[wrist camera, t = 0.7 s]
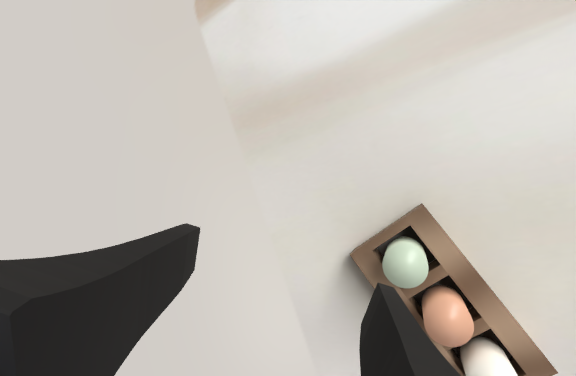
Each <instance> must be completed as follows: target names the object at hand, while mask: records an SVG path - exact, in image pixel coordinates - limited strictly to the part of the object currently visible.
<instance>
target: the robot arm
mask: <svg viewBox="0 0 576 376" xmlns="http://www.w3.org/2000/svg"><path fill="white" fill-rule="evenodd" d="M199 234H200V228H199V227H196V226H193V225H189V224H182V225H179V226H176V227H173V228H170V229H167V230H164V231H161V232H158V233H155V234H152V235H149V236H146V237H143V238H140V239H137V240H133V241H129V242H126V243H123V244H120V245H115V246H112V247H107V248H104V249H98V250H93V251H89V252H83V253H76V254H69V255H62V256H55V257H46V258H35V259H20V260H0V376H114V375H115V374H116V372H117V370H118V369H119V368H120V366H121V365H122V363H123V362H124V360H125V359H126V358H127V356H128V355H129V353H130V351H131V350H132V349H133V348H134V346H135V345H136V343H137V342H138V341H139V340H140V338H141V337H142V336H143V334H144V333H145V332H146V331H147V330H148V329H149V327H150V326H151V325H152V324H153V323H154V322H155V320H156V319H157V318H158V317H159V316H160V314H161V313H162V312H163V311H164V310H165V309H166V308H167V307H168V305H169V304H170V303H171V302H172V301H173V299H174V298H175V297H176V296H177V295H178V293H179V292H180V291H181V290H182V288H183V287H184V285H185V284H186V282H187V280H188V279H189V278H190V276H191V274H192V273H193V271H194V267H195V261H196V254H197V247H198V241H199ZM360 367H361V376H461V375H460V374H459V373H458V372H457V371H456V370H455V369H454V367H453V366H452V365H451V364H450V363H449V362H448V361H447V360H446V358H445V357H444V356H443V355H442V354H441V353H440V351H439V350H438V349H437V347H436V346H435V345H434V344H433V342H432V341H431V340H430V339H429V337H428V336H427V335H426V333H425V332H424V331H423V329H422V328H421V326H420V325H419V324H418V322H417V321H416V319H415V318H414V316H413V315H412V314H411V312H410V311H409V309H408V308H407V306H406V305H405V303H404V302H403V300H402V299H401V297H400V296H399V294H398V293H397V291H396V290H395V288H394V287H391V286H388V285H384V284H381V283H377V285H376V288H375V290H374V293H373V295H372V298H371V301H370V303H369V306H368V308H367V311H366V313H365V316H364V318H363V321H362V323H361V334H360Z"/></svg>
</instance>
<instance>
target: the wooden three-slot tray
mask: <svg viewBox="0 0 576 376" xmlns="http://www.w3.org/2000/svg"><path fill="white" fill-rule="evenodd" d="M408 226H411V227H412V228H413V230H414V231H415V232H416V233H417V235H418V236H419V237H420V239H421V240H422V241H423V242H424V244H425V245H426V246H427V247H428V249H429V250H430V251H431V253H432V254H433V255H434V256H435V258H436V259H435V260H434V261H432V262H430V263H429V264H428V268H429V270H428V275H427V277H426V279H425V280H424V282H423V283H422V284H420V285H419V286H417V287H414V288H401V287H398V286H396V285H394V284H392V283H391V282H390V281H389V280H388V279H387V277H386V276H385V274H384V271H383V267H382V263H383V258H384V257H383V256H382V254H381V253H380V252H379V250H378V249H377V247H378V246H380V245H381V244H383V243H384V242H386V241H387V240H389V239H390V238H392V237H393V236H395V235H396V234H398V233H399V232H401V231H402V230H404V229H405V228H407V227H408ZM350 256H351V257H352V258H353V260H354V261H355V263H356V264H357V265H358V267H359V268H360V270H361V271H362V272H363V274H364V275H365V277H366V278H367V279H368V281H369V282H370V283H371V285H372V286H373V288H374V289H375V288H376V285H377V283H381V284H384V285H388V286H391V287H394V288H395V290H396V291H397V293H398V294H399V296H400V297H401V299H402V300H403V302H404V303H405V305H406V306H407V308H408V309H409V311H410V312H411V314H412V315H413V316H414V318H415V319H416V321H417V322H418V324H419V325H420V326H421V328H422V329H423V331H424V332H425V333H426V335H427V336H428V337H429V339H430V340H431V341H432V342H433V344H434V345H435V346H436V347H437V349H438V350H439V351H440V353H441V354H442V355H443V356H444V357H445V358H446V360H447V361H448V362H449V363H450V364H451V365H452V366H453V367H454V369H455V370H456V371H457V372H458V373H459V374H460V375H461V376H466V374H465V371H464V368H463V365H462V362H461V361H460V359H459V358H458V357H457V355H456V354H455V353H454V351H453V350H452V348H454V347H447V346H443V345H441V344H439V343H437V342H435V341H434V340H433V339H432V338H431V337H430V336H429V335H428V333H427V331H426V329H425V326H424V320H423V311H422V308H421V307H420V305H419V304H418V303H417V301H416V300H415V299H414V297H413V296H414V295H416V294H417V293H419V292H421V291H422V290H424V289H426V288H427V287H429V286H431V285H433V284H434V283H436V282H438V281H439V280H441V279H443V278H444V277H446V276H448V275H449V276H450V277H451V278H452V279H453V281H454V282H455V283H456V285H457V286H458V287H459V288H460V290H461V291H462V292H463V294H464V295H465V296H466V297H467V299H468V300H469V301H470V303H471V304H472V305H473V306H474V307H472V308H470V309H468V311H469V313H470V315H471V317H472V320H473V323H474V332H473V335H472V337H471V338H473V337H475V336H477V335H479V334H481V333H483V332H485V331H487V330H489V329H492V331H493V332H494V333H495V335H496V336H497V337H498V338H499V340H500V341H501V342H502V343H503V345H504V346H505V347H506V349H507V350H508V351H509V352H510V354H511V355H512V356H513V358H512V359H510V360H509V361H510V363H511V365H512V367H513V368H514V370H515V372H516V374H517V375H518V376H552V375H555V374H557V373H558V372H557V371H556V370H555V368H554V367H553V366H552V365H551V363H550V362H549V361H548V360H547V358H546V357H545V356H544V354H543V353H542V352H541V351H540V350H539V348H538V347H537V346H536V345H535V343H534V342H533V341H532V340H531V338H530V337H529V336H528V335H527V333H526V332H525V331H524V330H523V328H522V327H521V326H520V325H519V323H518V322H517V321H516V320H515V318H514V317H513V316H512V315H511V313H510V312H509V311H508V310H507V308H506V307H505V306H504V305H503V303H502V302H501V301H500V300H499V299H498V297H497V296H496V295H495V294H494V292H493V291H492V290H491V289H490V287H489V286H488V285H487V284H486V282H485V281H484V280H483V279H482V277H481V276H480V275H479V274H478V272H477V271H476V270H475V269H474V267H473V266H472V265H471V264H470V262H469V261H468V260H467V259H466V257H465V256H464V255H463V254H462V252H461V251H460V250H459V249H458V247H457V246H456V245H455V244H454V243H453V241H452V240H451V239H450V238H449V236H448V235H447V234H446V233H445V231H444V230H443V229H442V228H441V226H440V225H439V224H438V223H437V221H436V220H435V219H434V218H433V216H432V215H431V214H430V213H429V211H428V210H427V209H426V208H425V206H424V205H423V204H420V205H419V206H417V207H416V208H414V209H413V210H411V211H410V212H408V213H407V214H405V215H404V216H403V217H401V218H400V219H398V220H397V221H395V222H394V223H392V224H391V225H389V226H388V227H386V228H385V229H383V230H382V231H380V232H379V233H377V234H376V235H375V236H373V237H372V238H370V239H369V240H367V241H366V242H364V243H363V244H361V245H360V246H358V247H357V248H355V249H354V250H353V251H352V253H351V254H350Z"/></svg>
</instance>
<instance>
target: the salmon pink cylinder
mask: <svg viewBox="0 0 576 376" xmlns="http://www.w3.org/2000/svg"><path fill="white" fill-rule="evenodd" d="M422 311H423V320H424V326H425V329H426V331H427V333H428V335H429V336H430V337H431V338H432V339H433V340H434V341H435V342H437V343H439V344H441V345H443V346H447V347H458V346H461V345H464V344H465V343H467V342H468V341H469V340H470V339H471V337H472V335H473V332H474V323H473V320H472V317H471V315H470V313H469V311H468V309H467V307H466V305H465V303H464V301H463V299H462V297H461V295H460V294H459V293H458V292H457V291H456V290H455V289H453V288H451V287H449V286H446V285H435V286H432V287H430V288H428V289H427V290H426V291H425V292H424V294H423V296H422Z"/></svg>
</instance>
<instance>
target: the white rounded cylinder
mask: <svg viewBox="0 0 576 376" xmlns="http://www.w3.org/2000/svg"><path fill="white" fill-rule="evenodd" d="M460 358H461V361H462V365H463V368H464V371H465V374H466V376H518V375H517V374H516V372H515V370H514V368H513V367H512V365H511V363H510V361H509V360H508V358H507V356H506V354H505V353H504V351H503V349H502V348H501V347H500V345H498V344H497V343H496V342H495V341H493V340H491V339H489V338H486V337H473V338H471V339H470V340H469V341H468V342H467V343H465V344H464V345H462V346H461V349H460Z"/></svg>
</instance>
